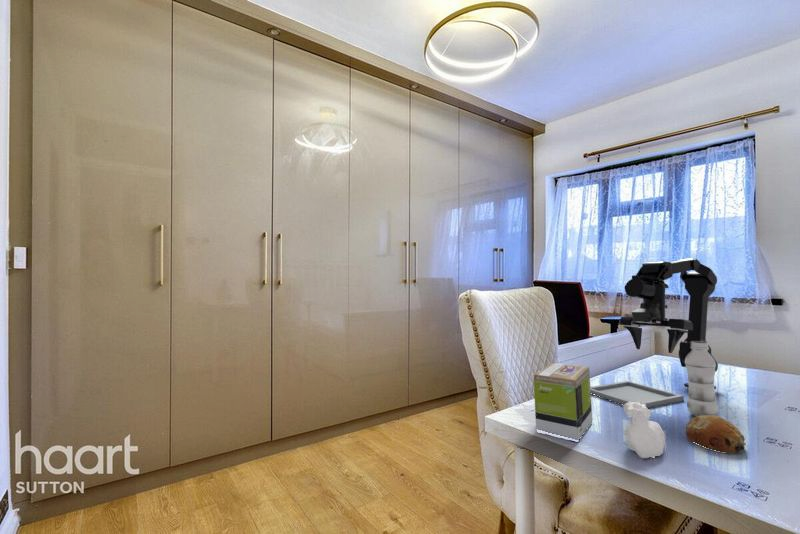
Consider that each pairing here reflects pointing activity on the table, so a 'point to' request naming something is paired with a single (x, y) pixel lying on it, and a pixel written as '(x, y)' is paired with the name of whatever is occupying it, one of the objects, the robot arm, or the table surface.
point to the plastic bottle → (701, 380)
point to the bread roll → (715, 434)
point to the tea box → (563, 400)
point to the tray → (636, 394)
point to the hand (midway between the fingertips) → (653, 351)
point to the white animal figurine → (643, 431)
